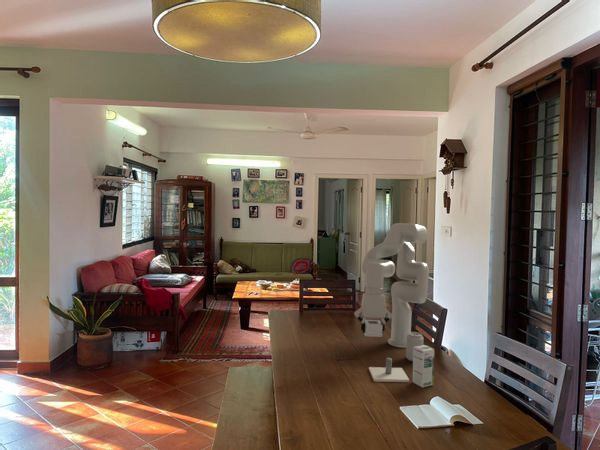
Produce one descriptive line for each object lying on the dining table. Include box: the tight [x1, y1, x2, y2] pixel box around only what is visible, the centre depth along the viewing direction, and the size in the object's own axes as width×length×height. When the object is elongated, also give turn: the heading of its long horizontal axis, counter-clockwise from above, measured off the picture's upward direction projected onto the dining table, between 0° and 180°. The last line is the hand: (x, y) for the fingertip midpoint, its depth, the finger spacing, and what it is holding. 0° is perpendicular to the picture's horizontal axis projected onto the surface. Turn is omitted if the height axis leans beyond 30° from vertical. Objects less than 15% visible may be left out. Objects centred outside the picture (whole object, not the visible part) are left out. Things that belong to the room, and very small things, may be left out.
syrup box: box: [412, 344, 435, 388], centre depth 163 cm, size 6×6×14 cm
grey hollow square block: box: [363, 319, 383, 338], centre depth 176 cm, size 7×7×5 cm
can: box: [405, 331, 425, 362], centre depth 189 cm, size 8×8×12 cm
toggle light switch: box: [368, 357, 410, 383], centre depth 170 cm, size 14×12×7 cm
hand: (372, 332), depth 176 cm, fingers closed on grey hollow square block, 7 cm apart
